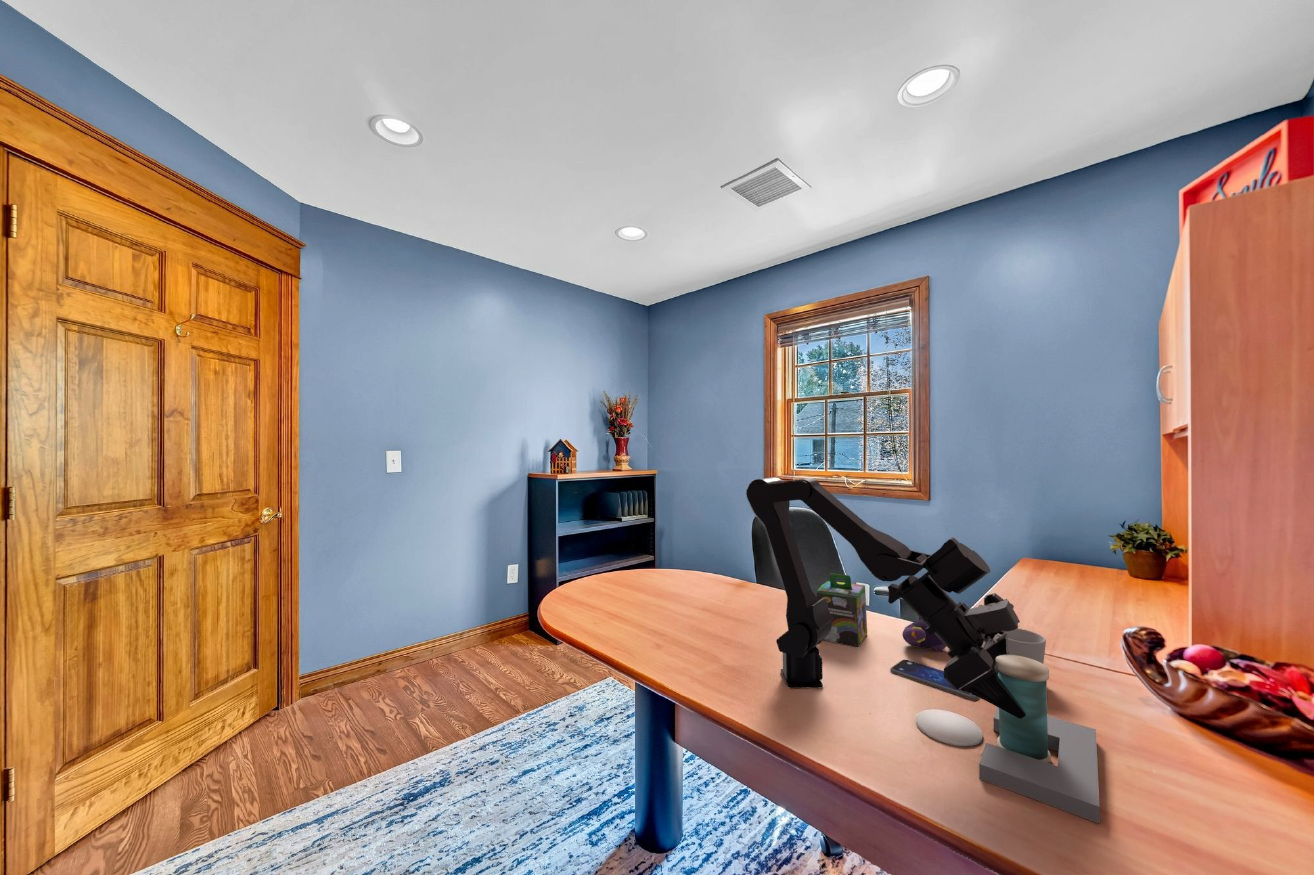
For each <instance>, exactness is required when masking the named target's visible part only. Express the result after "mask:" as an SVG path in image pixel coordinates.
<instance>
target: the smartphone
mask: <svg viewBox="0 0 1314 875" xmlns="http://www.w3.org/2000/svg"><path fill="white" fill-rule="evenodd" d="M889 671H890V672H891V673H892V674H894V675H896V676H899V677H902V678H905V679H909V680H910V681H911V680H912V681H914V682H917V683H921V684H923V685H925V686H926V685H927V686H929V687H932V688H935V689H938V690H941V691H944V692H945V693H949V694H952V695H955V696H959V697H962V698H964V699H967V700H971V701H977V700H979V697H977V696H975V695H973V694H971V693H968V692H966V691H964V692H962V691H961V690H960V689H957V690H954V689H953V687H952V686H951V685H950V684H949V683H948V682H947V681H946V680H945V679H944V670H942V669H938V668H935V667H932V666H928V665H926V664H923V663H919V662H915V661H913V660H910V659H902V660H900V661H898V662H897V663H895V664H894V665H892V667H890V670H889Z"/></svg>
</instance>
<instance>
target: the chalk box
mask: <svg viewBox="0 0 1314 875" xmlns="http://www.w3.org/2000/svg"><path fill="white" fill-rule="evenodd" d="M838 579H840V580H843V581H844V582H841V581H837V580H838ZM815 593H816V594H815V595H816V597H817V598H818V599H819V600H820V599H823V598H825V599H826V600H827V604H828V609H829V612H830V614H831V615H832V617H833V620H831V624H832V629H831V631H830V633H829V634H828V635H827V636H826V637H825V638H823V639H822V641H826V642H832V643H836V644H840V645H845V646H849V647H853V648H860V646H861V645H862V643H863V641H864V640H865V638H866V636H867V635H868V622H867V620H868V619H867V598H866V585H865V584H858V583H857V584H856V583H852V578H851V576H850V575H848V574H839V573H832V572H831V573H829V580H827V581H826V582H825V583H823V584H821V586H820V587H819V588H818V589H817V590H816V591H815Z"/></svg>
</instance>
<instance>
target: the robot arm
mask: <svg viewBox="0 0 1314 875" xmlns="http://www.w3.org/2000/svg"><path fill="white" fill-rule="evenodd" d="M745 495H746V499H747V501H748V503H749V505H750V507H751V509H752V512H753V514H754V515H756V516H755V517H757V519H759V521H760V522H762V524H763V526H764V527H765V531H766V535H767V537H768V540H769V543H770V547H771V549H772V550H771V551H772V552H773V556H774V559H775V563H776V566H777V569H778V572H779V573H778V574H779V575H780V576H779V577H780V579H781V581H782V585H783V588H784V591H785V594H786V600H787V601H786V611H785V617H786V618H785V619H786V624H787V625H786V626H787V630H786V631H785V632H784V633H783V634H781V636H779V637H778V638H777V639H776V640H775V642H776V644H777V648H778V651H779V652H780V653H782V668H781V669H780V674H781V676H782V679H783V680H784V682H785V684H786V686H787V687H788V688H789V689H791V688H792V689H793V688H794V689H795V688H796V689H799V688H800V689H801V688H802V689H804V688H805V689H807V688H814V689H815V688H816V689H817V688H818V689H819V688H821V689H822V688H823V687H824V683H823V682H822V680H823V677H824V676H823V674H824V673H823V657H822V656H821V655H820V649H819V648H818V647H817V646H818V645H820V644H822V641H823V640H822V639H823V638H825V637H826V636H827V635H828V634H829V633H830V631H831V629H832V624H831V620H833V617H832V615H831V614H830V612H829V609H828V604H827V600H826V599H825V598H823V599H820V600H819V599H818V598H817V595H816V594H815V593H814V592H813V590H812V588H811V585H810V582H809V579H808V575H807V573H806V569H805V566H804V564H803V559H802V557H801V554H800V551H799V547H798V545H797V542H796V537H795V536H794V533H793V529H792V526H791V523H790V519H789V515H790V514H789V513H790V504H791V503H790V501H801V502H803V503H804V504H805V505H806V506H807V507H808V508H809V509H810V510H812V511H813V512H814V513H815V514H816V515H817V516H819V518H821V519H822V520H823V521H824V522H825V523H827V525H829V526H830V527H831V528H832V529H833V530H835V532H836V533H838V534H839V535H840V537H842V538H844V540H846V541H847V542H848V543H849V544H850V546H852V548H853V549H854V550H855V553H856V554H857V556H858V558H859V560H860V561H861V563H862V564H863V565H864V566H865V567H866V568H867V570H868V571H869V572H870V574H871V575H873V577H875V578H876V579H877V580H880V581H882V582H890V583H891V582H896V581H898V580H899V579H900V578H901V577H907V578H905V579H904V580H902V581H901V582H900V583H899V584H896V583H891V584H889V585H888V586H887V589H888V600H887V602H888V603H889V604H891V605H892V604H894V603H895V602H897V601H898V600H899V599H900V598H901V599H902V600H903V602H905V603H906V604H907V606H908V607H909V608H910V609H911V610H912V611H913V612H914V613H915V614H916V615H917V616H918V617H919V619H920V620H921V619H922V620H923V622H924V623H925V624H926V625H927V626H928V627H927V628H926V631H927V632H928V633H929V635H932V634H933V633H935V634H936V636H937V637H938V638H939V639H940V640H941V641H942V642H943V643H944V644H945V645H946V648H947V649H948V651H947V652H946V654H947V655H948V657H949V658H950V659H949V660H947V662H946V664H945V666H944V668H943V671H944V679H945V680H946V681H947V682H948V683H949V684H950V685H951V686H952V687H953V689H954V690H957V689H960V690H961V691H962V692H964V691H966V692H968V693H971V694H973V695H975V696H977V697H979V698H980V700H981V699H982V700H983V701H985V702H987V703H989V704H991V705H992V706H994V707H996V708H997V707H998V708H1000V709H1002V710H1004V711H1006V712H1008V713H1010V714H1011V715H1013V716H1015V717H1017V718H1019V719H1021V718H1023V717H1025V716H1026V713H1025V712H1024V710H1023V709H1022V707H1021V706H1020V705H1019V703H1018V702H1017V701H1016V699H1015V698H1014V697H1013V695H1012V694H1011V693H1010V692H1009V690H1008V689H1007V688H1006V686H1005V685H1004V684H1003V682H1002V681H1001V680H1000V679H999V677H998V663H997V661H996V657H997V656H1000V655H1011V654H1010V653H1009V651H1008V634H1007V633H1005V631H1006V632H1008V631H1012V630H1015V629H1017V628H1019V625H1018V624H1020V619H1019V616H1018V615H1017V613H1016V612H1015V610H1014V606H1015V605H1014V604H1013V603H1011V602H1010V601H1009V599H1007V598H1005V599H1003V598H1002V597H1001V596H1000V595H998V594H997V593H995V592H994V593H989V594H986V595H985V596H984V598H983V604H979V605H978V606H976V607H975V606H974V607H971V608H970V607H969V606H967V604H966V603H964V602H962V601H959V602H956V601H955V600H954V599H953V598H952V597H951V596H950V595H949V594H948V593H950V594H951V593H955V594H957V595H961V594H962V593H963V592H964V591H966V590H967V589H969V588H970V587H971V586H973V585H974V584H976V583H977V582H979V581H980V580H981V579H983V578H984V577H986V576H987V575H988V574H990V573H991V569H990V566H989V565H988V564H987V562H986V561H985V560H984V559H983V558H982V556H980V555H979V553H978V552H976V550H974V549H971V548H970V547H968V546H967V545H965V544H963V543H962V542H959V541H958V540H957V539H956V538H955V537H951V538H948V540H946V541H945V542H944V543H942V545H941V547H939V549H937V550H936V551H935V552H934V553H933V554H929V553H924V552H920V551H917V550H912V549H910V548H909V546H907V545H905V544H904V543H903V542H901V541H899V540H898V539H896V538H894V537H893V536H891V535H889V534H888V533H884V532H883V531H880V530H878V529H876V528H874V527H872V526H870V525H869V524H868V523H867V522H865V521H864V520H863V519H862V518H860V517H859V516H858V515H857V514H856V513H855V512H854V511H852V510H851V509H850V508H848V506H846V505H845V504H844V503H843V502H842V501H840V500H839V499H838V498H836V497H835V495H834V494H832V493H831V492H829V491H828V490H827V489H826V488H824V487H823V486H822V485H821V483H820V482H819V481H818V480H817V479H815V478H814V477H813V478H812V477H808V478H802V479H801V478H800V479H797V480H794V479H793V480H783V479H780V478H779V477H775V476H772V477H771V476H770V477H763V478H758V479H754V480H752V481H751V482H750V483H749V484H748V486H747V489H746V490H745ZM923 569H925V570H926V572H924V573H923V574H922V575H921V576H920V577H917V576H915V575H917V574H918V573H919V572H921V571H922V570H923ZM1004 633H1005V634H1004ZM996 634H1000V635H1002V634H1004V635H1002V636H1000V637H998V636H997V635H996ZM979 698H978V699H979Z"/></svg>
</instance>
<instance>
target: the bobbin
mask: <svg viewBox="0 0 1314 875" xmlns="http://www.w3.org/2000/svg"><path fill="white" fill-rule="evenodd" d="M996 661H997V663H998V677H999V679H1000V680H1001V681H1002V682H1003V684H1004V685H1005V686H1006V688H1007V689H1008V690H1009V692H1010V693H1011V694H1012V695H1013V697H1014V698H1015V699H1016V701H1017V702H1018V703H1019V705H1020V706H1021V707H1022V709H1023V710H1024V712H1025V713H1026V716H1025V717H1023V718H1021V719H1019V718H1017V717H1015V716H1013V715H1011V714H1010V713H1008V712H1006V711H1004V710H1002V709H1000V708H999V732H998V733H999V736H998V737H997V739H996V742H997V744H996V746H998V747H1001V748H1004V749H1007V750H1010V751H1013V752H1016V753H1019V754H1022V755H1025V756H1028V757H1031V758H1034V759H1037V760H1040V761H1043V762H1046V763H1049V764H1052V754H1051V752H1050V751H1049V748H1048V728H1047V716H1048V696H1047V695H1048V688H1047V686H1048V685H1047V681H1048V680H1049V679H1050V669H1049V668H1048V666H1047V665H1046V664H1045V663H1044V664H1042V663H1040V662H1038V661H1036V660H1033V659H1030V658H1027V657H1022V656H1017V655H1000V656H997V657H996Z"/></svg>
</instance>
